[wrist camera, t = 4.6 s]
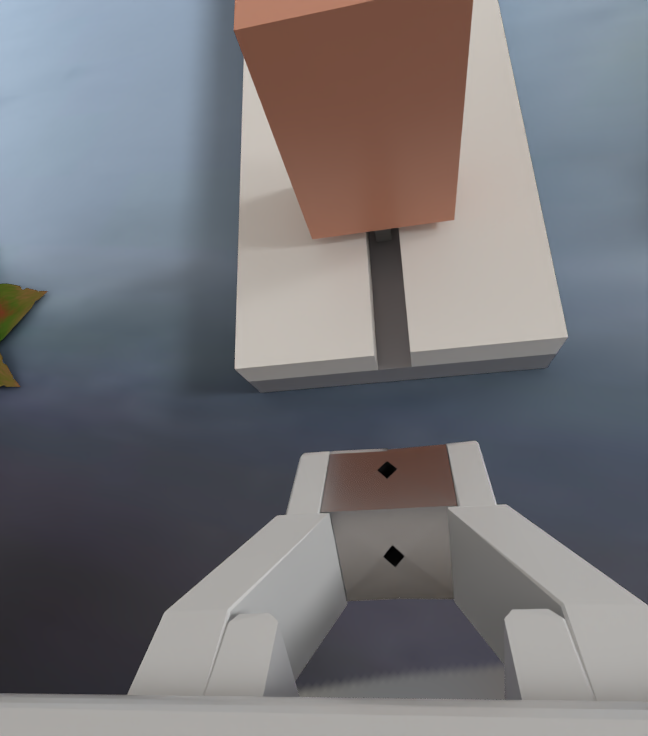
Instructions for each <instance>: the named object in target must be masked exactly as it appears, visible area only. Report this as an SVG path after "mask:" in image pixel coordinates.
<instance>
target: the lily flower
mask: <svg viewBox="0 0 648 736" xmlns="http://www.w3.org/2000/svg"><path fill="white" fill-rule="evenodd" d="M47 292H48V291H39V292H38V291H37V290H33V289H29V288H26V289H24V290H22V289H21V287H20V286H17V285H12V284H0V342H1V341H2V340H3V339H4V338H5V337H6V335H7V334H8V333H9V332H10V331H11V330H12V328H13V327H14V326H15V325H16V324H17V323H18V322H19V321H20V320H21V319H22V318H23V317H24V316H25V314H26V313H27V312H28V311H29V310H30V309H31V308H32V306H33V305H34V303H35V301H36V300H39V299H40V298H41V297H42V296H43V295H44V294H45V293H47ZM2 359H3V358H2V356H1V354H0V387H1V386H3V385H5V386H6V387H20V386H19V384H18V383H17V382H16V381H15V379H13V376H12V374H11V372H10V370H9V368H8V366H7V365H6V364H4V363H3V361H2Z"/></svg>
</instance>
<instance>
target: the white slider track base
mask: <svg viewBox="0 0 648 736" xmlns="http://www.w3.org/2000/svg"><path fill="white" fill-rule="evenodd" d="M391 236H392V240H390V241H382V242H376V236H375V231H370V232H363V233H356V234H348V235H341V236H334V237H327V238H319V239H312V237H311V235H310V232H309V229H308V227H307V224H306V221H305V219H304V216H303V213H302V211H301V208H300V205H299V203H298V200H297V197H296V195H295V192H294V189H293V187H292V184H291V181H290V179H289V176H288V174H287V171H286V168H285V166H284V163H283V160H282V158H281V155H280V152H279V150H278V147H277V144H276V142H275V139H274V136H273V134H272V131H271V128H270V126H269V123H268V120H267V118H266V115H265V112H264V110H263V107H262V104H261V102H260V99H259V96H258V94H257V91H256V88H255V86H254V83H253V80H252V78H251V75H250V72H249V70H248V67H247V64H246V62H245V59H244V67H243V101H242V135H241V169H240V203H239V237H238V271H237V305H236V338H235V370H236V371H237V372H238V373H240V374H241V375H242V376H243V377H244V378H245V379H246V380H247V381H248V382H249V383H251V384H252V385H253V386H254V387H255V388H256V389H257V390H258V391H259V392H260V393H263V392H274V391H286V390H297V389H309V388H320V387H332V386H343V385H355V384H366V383H378V382H389V381H401V380H412V379H424V378H435V377H447V376H458V375H470V374H481V373H493V372H504V371H516V370H527V369H539V368H547V367H548V366H549V364H550V363H551V361H552V360H553V358H554V357H555V355H556V354H557V352H558V351H559V350H560V348H561V347H562V345H563V344H564V342H565V341H566V339H567V338H568V334H567V329H566V324H565V319H564V315H563V310H562V305H561V300H560V296H559V291H558V286H557V281H556V276H555V272H554V267H553V262H552V257H551V252H550V248H549V243H548V238H547V233H546V229H545V224H544V219H543V214H542V209H541V205H540V200H539V195H538V190H537V185H536V181H535V176H534V171H533V166H532V162H531V157H530V152H529V147H528V142H527V138H526V133H525V128H524V123H523V118H522V114H521V109H520V104H519V99H518V95H517V90H516V85H515V80H514V75H513V71H512V66H511V61H510V56H509V51H508V47H507V42H506V37H505V32H504V28H503V23H502V18H501V13H500V8H499V4H498V0H473V10H472V21H471V33H470V44H469V56H468V67H467V79H466V90H465V102H464V113H463V125H462V136H461V148H460V159H459V171H458V182H457V194H456V205H455V217H454V220H450V221H443V222H436V223H428V224H421V225H414V226H407V227H399V228H392V229H391Z"/></svg>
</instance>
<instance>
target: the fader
mask: <svg viewBox="0 0 648 736" xmlns="http://www.w3.org/2000/svg"><path fill="white" fill-rule="evenodd" d="M472 10H473V0H235V11H234V32H235V35H236V38H237V40H238V43H239V46H240V48H241V51H242V54H243V56H244V59H245V62H246V64H247V67H248V70H249V72H250V75H251V78H252V80H253V83H254V86H255V88H256V91H257V94H258V96H259V99H260V102H261V104H262V107H263V110H264V112H265V115H266V118H267V120H268V123H269V126H270V128H271V131H272V134H273V136H274V139H275V142H276V144H277V147H278V150H279V152H280V155H281V158H282V160H283V163H284V166H285V168H286V171H287V174H288V176H289V179H290V181H291V184H292V187H293V189H294V192H295V195H296V197H297V200H298V203H299V205H300V208H301V211H302V213H303V216H304V219H305V221H306V224H307V227H308V229H309V232H310V235H311V237H312V239H319V238H327V237H334V236H341V235H348V234H356V233H363V232H370V231H375V236H376V242H382V241H390V240H392V236H391V229H392V228H399V227H407V226H414V225H421V224H428V223H436V222H443V221H450V220H454V217H455V205H456V194H457V182H458V171H459V159H460V148H461V136H462V125H463V113H464V102H465V90H466V79H467V67H468V56H469V44H470V33H471V21H472Z"/></svg>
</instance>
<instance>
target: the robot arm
mask: <svg viewBox="0 0 648 736" xmlns="http://www.w3.org/2000/svg"><path fill="white" fill-rule="evenodd" d="M399 597H400V598H399ZM384 599H454V602H455V603H456V604H457V606H458V607H459V608H460V609H461V611H462V612H463V613H464V615H465V616H466V617H467V618H468V620H469V621H470V622H471V623H472V625H473V626H474V627H475V628H476V630H477V631H478V632H479V633H480V635H481V636H482V637H483V638H484V640H485V641H486V642H487V643H488V645H489V646H490V647H491V649H492V650H493V651H494V652H495V654H496V655H497V656H498V657H499V659H500V660H501V661H502V662H503V664H504V665H505V700H486V699H484V700H481V699H410V698H407V699H406V698H404V699H403V698H332V697H331V698H329V697H299V694H298V690H297V687H296V683H295V681H296V679H297V678H298V676H299V675H300V673H301V672H302V670H303V669H304V667H305V666H306V664H307V663H308V661H309V660H310V659H311V657H312V656H313V654H314V653H315V651H316V650H317V648H318V647H319V645H320V644H321V642H322V641H323V639H324V638H325V636H326V635H327V633H328V632H329V631H330V629H331V628H332V626H333V625H334V623H335V622H336V620H337V619H338V617H339V616H340V614H341V613H342V611H343V610H344V608H345V607H346V605H347V601H363V600H384ZM0 736H648V605H647V604H645V603H644V602H643V601H641V600H640V599H638V598H637V597H636V596H634V595H633V594H631V593H630V592H629V591H627V590H626V589H624V588H623V587H622V586H620V585H619V584H617V583H616V582H615V581H613V580H612V579H610V578H609V577H608V576H606V575H605V574H603V573H602V572H601V571H599V570H598V569H596V568H595V567H594V566H592V565H591V564H589V563H588V562H587V561H585V560H584V559H582V558H581V557H580V556H578V555H577V554H575V553H574V552H573V551H571V550H570V549H568V548H567V547H566V546H564V545H563V544H561V543H560V542H559V541H557V540H556V539H554V538H553V537H552V536H550V535H549V534H547V533H546V532H545V531H543V530H542V529H540V528H539V527H538V526H536V525H535V524H533V523H532V522H530V521H529V520H528V519H526V518H525V517H523V516H522V515H521V514H519V513H518V512H516V511H515V510H514V509H512V508H511V507H509V506H508V505H506V504H503V505H497V503H496V500H495V497H494V493H493V490H492V487H491V483H490V480H489V476H488V473H487V470H486V466H485V463H484V460H483V456H482V453H481V450H480V446H479V443H478V442H476V441H468V442H458V443H448V444H444V445H432V446H420V447H408V448H397V449H367V450H346V451H332V452H330V451H326V452H312V453H304V454H303V455H302V456H301V457H300V460H299V464H298V468H297V472H296V476H295V480H294V484H293V488H292V491H291V495H290V499H289V503H288V507H287V511H286V515H278V516H276V517H275V518H274V519H273V520H271V521H270V522H269V523H268V524H267V525H266V526H264V527H263V528H262V529H261V530H260V531H259V532H257V533H256V534H255V535H254V536H253V537H252V538H250V539H249V540H248V541H247V542H246V543H245V544H243V545H242V546H241V547H240V548H239V549H238V550H236V551H235V552H234V553H233V554H232V555H231V556H229V557H228V558H227V559H226V560H225V561H224V562H222V563H221V564H220V565H219V566H218V567H217V568H215V569H214V570H213V571H212V572H211V573H210V574H208V575H207V576H206V577H205V578H204V579H203V580H201V581H200V582H199V583H198V584H197V585H196V586H194V587H193V588H192V589H191V590H190V591H189V592H187V593H186V594H185V595H184V596H183V597H182V598H180V599H179V600H178V601H177V602H176V603H175V604H173V605H172V606H171V607H170V608H169V609H168V610H166V611H165V612H164V614H163V617H162V619H161V621H160V623H159V626H158V628H157V630H156V632H155V634H154V637H153V639H152V641H151V643H150V645H149V648H148V650H147V652H146V654H145V656H144V659H143V661H142V663H141V665H140V667H139V670H138V672H137V674H136V676H135V678H134V681H133V683H132V685H131V687H130V689H129V692H128V694H127V695H96V694H17V693H0Z"/></svg>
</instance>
